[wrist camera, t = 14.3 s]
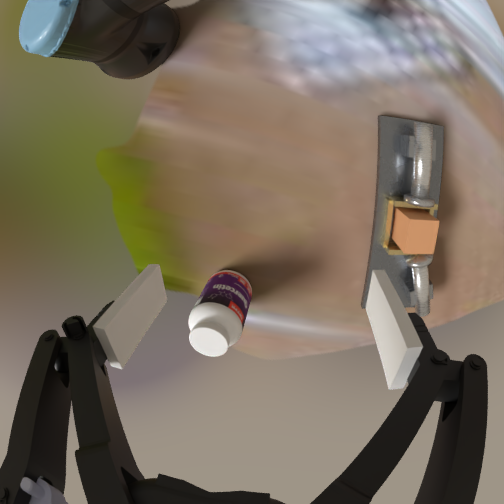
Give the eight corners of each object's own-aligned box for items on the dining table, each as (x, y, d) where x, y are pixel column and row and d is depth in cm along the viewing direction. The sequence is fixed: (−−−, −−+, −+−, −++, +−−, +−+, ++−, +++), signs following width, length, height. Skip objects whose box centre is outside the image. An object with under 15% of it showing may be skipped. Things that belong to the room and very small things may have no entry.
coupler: (391, 237, 40) (404, 253, 34) (395, 206, 37) (409, 219, 32) (418, 238, 39) (433, 254, 33) (422, 208, 37) (439, 221, 31)
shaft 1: (423, 198, 36) (439, 208, 31) (396, 195, 37) (410, 206, 32) (427, 126, 31) (445, 127, 26) (399, 121, 32) (415, 121, 27)
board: (377, 115, 33) (387, 114, 30) (440, 126, 32) (453, 126, 28) (360, 304, 47) (365, 318, 43) (413, 303, 45) (421, 316, 41)
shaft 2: (398, 250, 40) (410, 267, 35) (423, 242, 39) (437, 257, 34) (405, 304, 44) (415, 323, 39) (427, 296, 43) (439, 314, 38)
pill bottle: (261, 283, 47) (249, 340, 35) (239, 313, 51) (222, 370, 38) (220, 259, 47) (193, 309, 34) (201, 291, 50) (173, 344, 37)
